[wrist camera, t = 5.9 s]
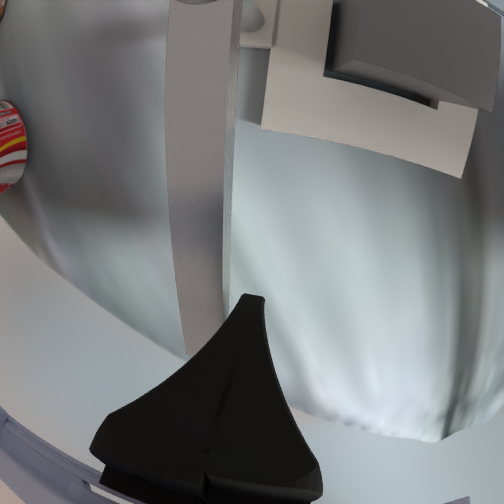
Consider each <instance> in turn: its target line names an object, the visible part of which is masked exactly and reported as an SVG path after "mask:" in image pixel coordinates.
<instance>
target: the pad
mask: <svg viewBox="0 0 504 504" xmlns="http://www.w3.org/2000/svg"><path fill="white" fill-rule="evenodd" d="M482 1H484V2H485V3H487V4H488V6H489V7H491V8H492V9H494V10H496V11H497V12H499V13H500V14H502V15H503V16H504V0H482Z"/></svg>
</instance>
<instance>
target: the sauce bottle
mask: <svg viewBox="0 0 504 504" xmlns="http://www.w3.org/2000/svg"><path fill="white" fill-rule="evenodd" d="M5 3H6V0H0V20H1V17H2V15H3V13H4V8H5Z"/></svg>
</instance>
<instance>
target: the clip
mask: <svg viewBox="0 0 504 504" xmlns="http://www.w3.org/2000/svg"><path fill="white" fill-rule="evenodd" d="M243 1H244V0H170V10H169V22H168V36H167V54H166V84H165V137H166V168H167V188H168V204H169V217H170V230H171V241H172V251H173V261H174V270H175V278H176V286H177V294H178V302H179V309H180V316H181V323H182V329H183V336H184V342H185V348H186V354H188V355H192V356H194V355H195V354H196V353H197V352H198V351H199V350H200V349H201V348H202V347H203V346H204V345H205V344H206V343H207V342H208V341H209V340H210V339H211V337H212V336H213V335H214V334H215V333H216V332H217V330H218V329H219V328H220V327H221V325H222V324H223V323H224V322H225V320H226V319H227V318H228V316H229V287H230V243H231V210H232V182H233V158H234V136H235V116H236V97H237V80H238V64H239V49H240V34H241V21H242V8H243Z"/></svg>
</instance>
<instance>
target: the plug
mask: <svg viewBox="0 0 504 504" xmlns="http://www.w3.org/2000/svg"><path fill="white" fill-rule="evenodd" d="M500 47H501V16H500V15H499V14H497V13H495V12H494V11H492V10H491V9H489V8H488V7H486V6H484V5H483V4H481V3H479V2H478V1H476V0H341V3H340V6H339V16H338V24H337V33H336V41H335V49H334V56H333V63H332V72H337V73H341V74H346V75H350V76H354V77H358V78H362V79H366V80H370V81H373V82H377V83H380V84H384V85H387V86H390V87H393V88H397V89H400V90H403V91H406V92H409V93H411V94H414V95H417V96H420V97H423V98H428V99H433V100H438V101H443V102H448V103H453V104H457V105H462V106H466V107H470V108H474V109H478V110H481V111H485V112H488V113H493V108H494V102H495V96H496V89H497V81H498V72H499V62H500Z"/></svg>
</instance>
